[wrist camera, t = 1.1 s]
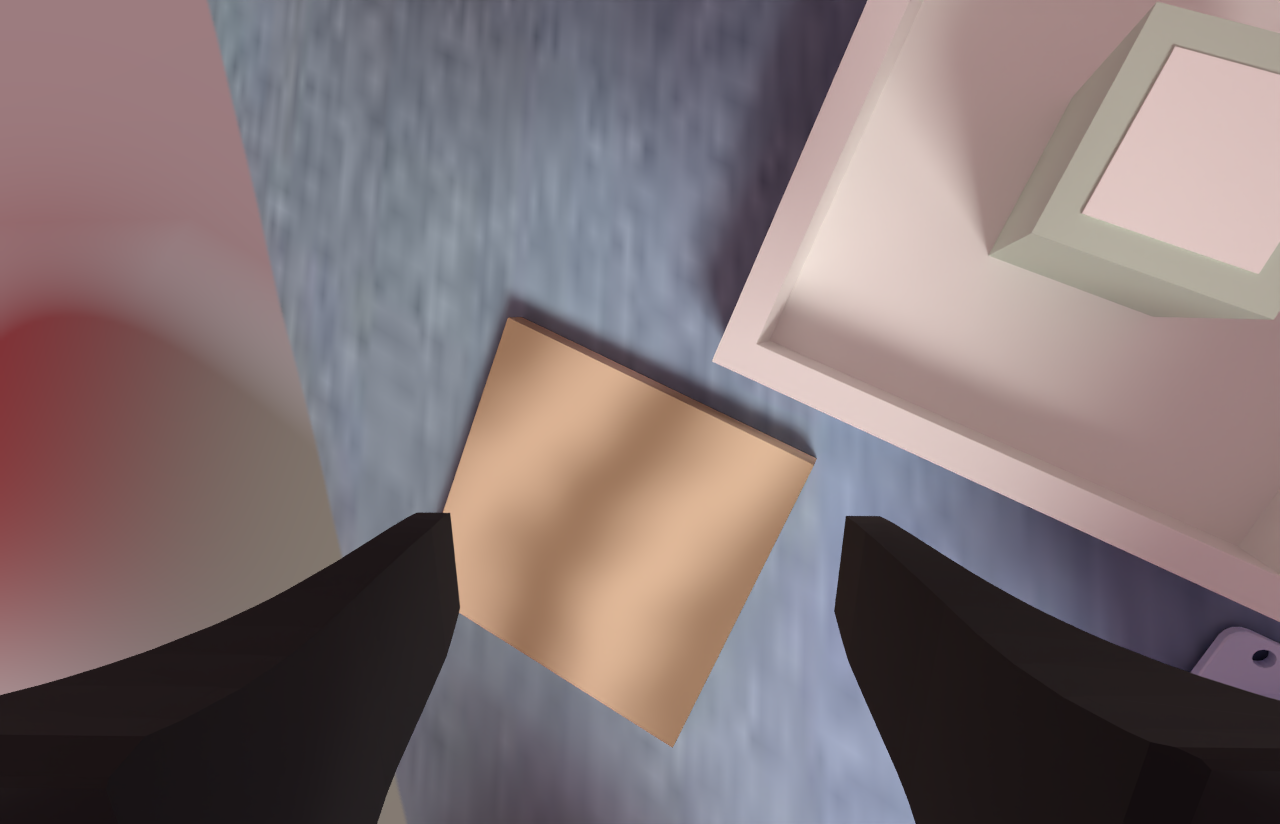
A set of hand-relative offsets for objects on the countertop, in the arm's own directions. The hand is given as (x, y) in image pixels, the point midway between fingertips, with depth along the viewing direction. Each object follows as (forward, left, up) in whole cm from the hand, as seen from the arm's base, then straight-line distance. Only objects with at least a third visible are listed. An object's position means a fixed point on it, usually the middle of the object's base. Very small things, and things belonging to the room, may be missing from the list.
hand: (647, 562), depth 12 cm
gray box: (-6, -10, -11) cm, 16 cm away
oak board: (+4, +6, -12) cm, 13 cm away
